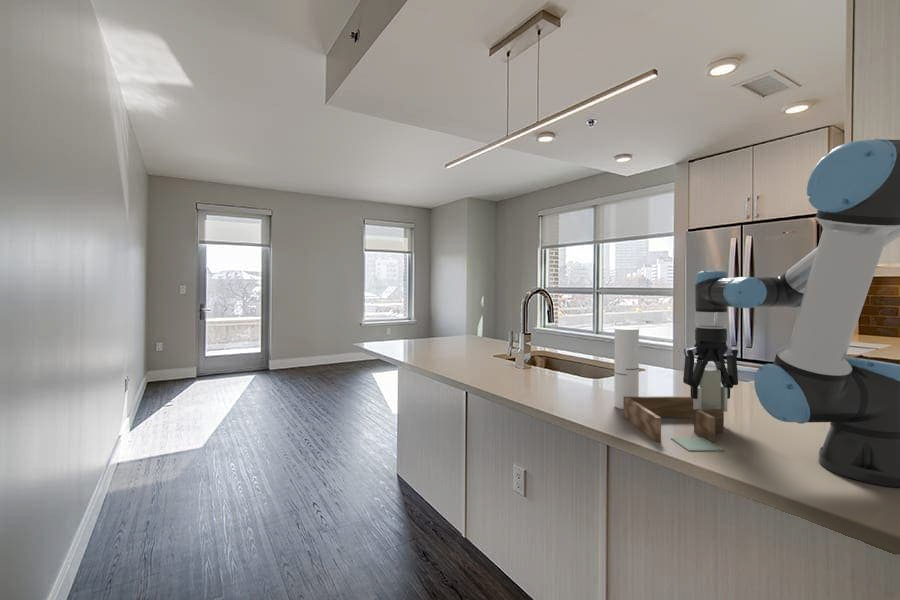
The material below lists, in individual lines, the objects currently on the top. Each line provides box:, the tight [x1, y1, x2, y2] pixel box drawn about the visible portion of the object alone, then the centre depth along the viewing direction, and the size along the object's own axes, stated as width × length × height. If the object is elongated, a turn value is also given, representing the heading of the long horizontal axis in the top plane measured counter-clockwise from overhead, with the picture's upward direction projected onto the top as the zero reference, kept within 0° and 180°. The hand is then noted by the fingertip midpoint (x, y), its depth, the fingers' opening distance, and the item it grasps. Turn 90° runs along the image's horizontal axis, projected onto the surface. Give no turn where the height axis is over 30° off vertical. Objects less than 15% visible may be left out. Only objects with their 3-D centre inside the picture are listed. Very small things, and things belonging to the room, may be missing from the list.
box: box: [699, 367, 722, 409], centre depth 117 cm, size 5×4×13 cm
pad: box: [670, 437, 724, 452], centre depth 102 cm, size 8×8×1 cm
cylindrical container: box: [613, 327, 640, 410], centre depth 135 cm, size 7×7×25 cm
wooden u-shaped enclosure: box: [623, 395, 725, 443], centre depth 114 cm, size 20×20×6 cm
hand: (710, 410), depth 117 cm, fingers closed on box, 6 cm apart
